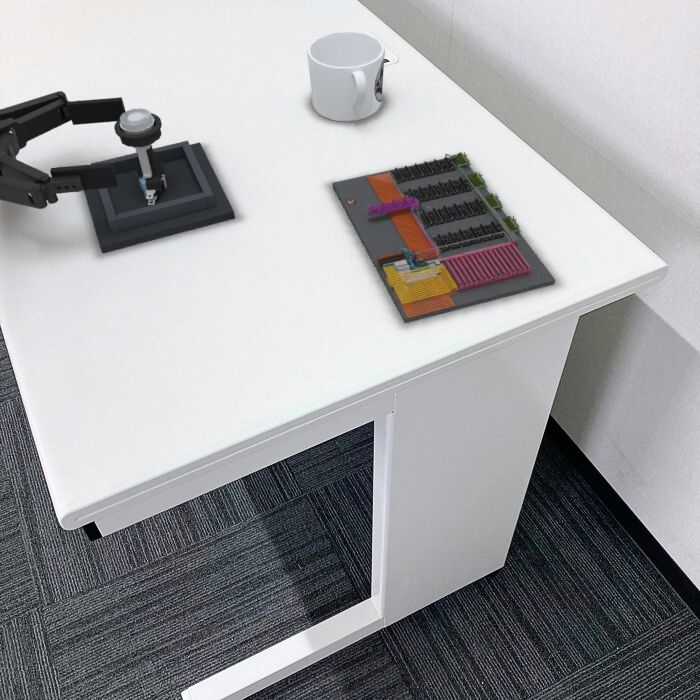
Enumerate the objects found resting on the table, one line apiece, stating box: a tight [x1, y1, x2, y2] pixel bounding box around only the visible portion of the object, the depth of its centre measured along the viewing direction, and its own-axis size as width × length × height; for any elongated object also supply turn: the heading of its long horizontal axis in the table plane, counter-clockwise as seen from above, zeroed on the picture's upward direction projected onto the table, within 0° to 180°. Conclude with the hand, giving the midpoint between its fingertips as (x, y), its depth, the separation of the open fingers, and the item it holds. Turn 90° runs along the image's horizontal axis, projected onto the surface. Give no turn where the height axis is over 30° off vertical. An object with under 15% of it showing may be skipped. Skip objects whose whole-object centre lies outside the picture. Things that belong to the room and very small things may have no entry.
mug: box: [306, 30, 386, 122], centre depth 102 cm, size 13×10×8 cm
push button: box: [113, 107, 167, 205], centre depth 88 cm, size 7×5×10 cm
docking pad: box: [83, 140, 236, 254], centre depth 91 cm, size 16×16×3 cm
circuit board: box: [331, 151, 556, 324], centre depth 86 cm, size 25×18×3 cm
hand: (120, 140), depth 86 cm, fingers open, 13 cm apart
